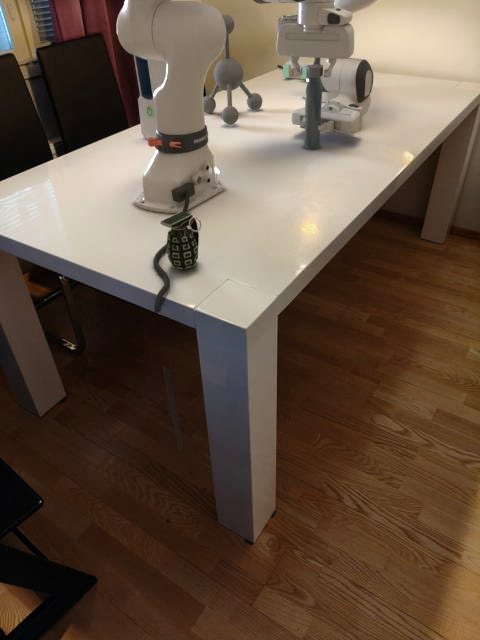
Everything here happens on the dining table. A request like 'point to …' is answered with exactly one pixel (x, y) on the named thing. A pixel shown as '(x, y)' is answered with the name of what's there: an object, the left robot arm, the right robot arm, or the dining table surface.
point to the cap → (314, 71)
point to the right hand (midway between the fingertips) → (311, 127)
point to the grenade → (182, 240)
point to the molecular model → (230, 82)
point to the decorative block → (290, 70)
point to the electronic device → (148, 92)
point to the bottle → (312, 113)
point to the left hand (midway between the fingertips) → (313, 76)
